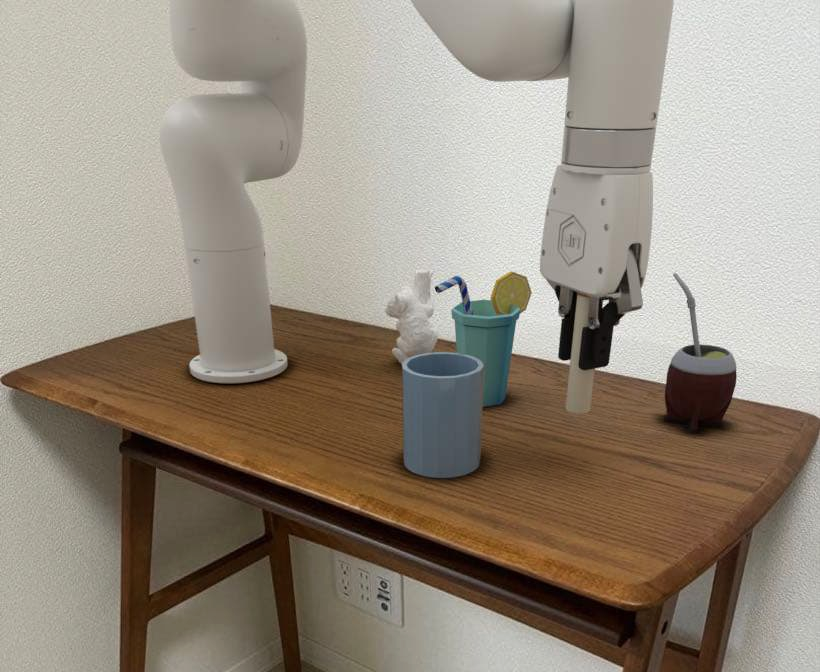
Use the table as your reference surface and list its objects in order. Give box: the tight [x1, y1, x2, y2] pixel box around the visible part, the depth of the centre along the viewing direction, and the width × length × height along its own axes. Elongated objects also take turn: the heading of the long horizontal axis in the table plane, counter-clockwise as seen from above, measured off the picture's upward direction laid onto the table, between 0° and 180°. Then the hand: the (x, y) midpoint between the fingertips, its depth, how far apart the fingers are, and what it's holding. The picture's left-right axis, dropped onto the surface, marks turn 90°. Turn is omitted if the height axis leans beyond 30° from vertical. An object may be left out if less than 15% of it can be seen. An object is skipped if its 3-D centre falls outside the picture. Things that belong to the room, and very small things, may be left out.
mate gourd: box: [663, 272, 737, 435], centre depth 86 cm, size 8×8×15 cm
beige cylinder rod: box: [565, 292, 604, 415], centre depth 77 cm, size 2×2×14 cm
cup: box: [434, 270, 532, 408], centre depth 93 cm, size 14×8×15 cm, turn 134°
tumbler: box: [401, 351, 484, 479], centre depth 79 cm, size 8×8×10 cm
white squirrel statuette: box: [384, 268, 439, 365], centre depth 105 cm, size 8×7×12 cm
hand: (583, 361), depth 78 cm, fingers closed on beige cylinder rod, 2 cm apart
